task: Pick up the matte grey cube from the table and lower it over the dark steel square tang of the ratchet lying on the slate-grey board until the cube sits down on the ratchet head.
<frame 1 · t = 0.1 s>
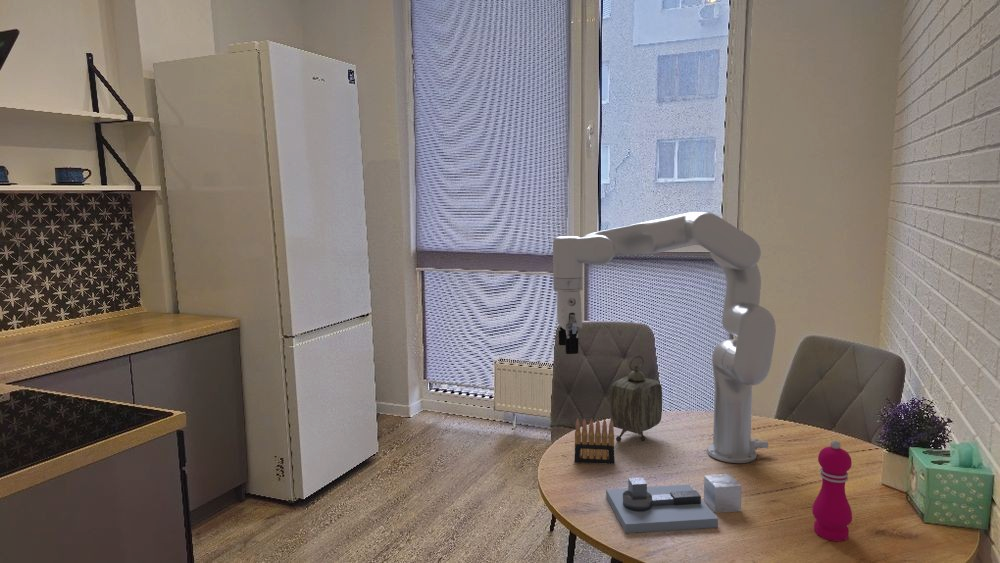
hand: (568, 349, 160), 31 cm above the table, tool pointing down, fingers open, 9 cm apart
pepper mill: (830, 534, 127), on the table
tabletop clock: (636, 439, 180), on the table
ratchet: (637, 504, 137), resting on slate board
slate board: (659, 511, 137), on the table
ammunition clip: (594, 462, 164), on the table
matte grey cube: (721, 505, 140), on the table
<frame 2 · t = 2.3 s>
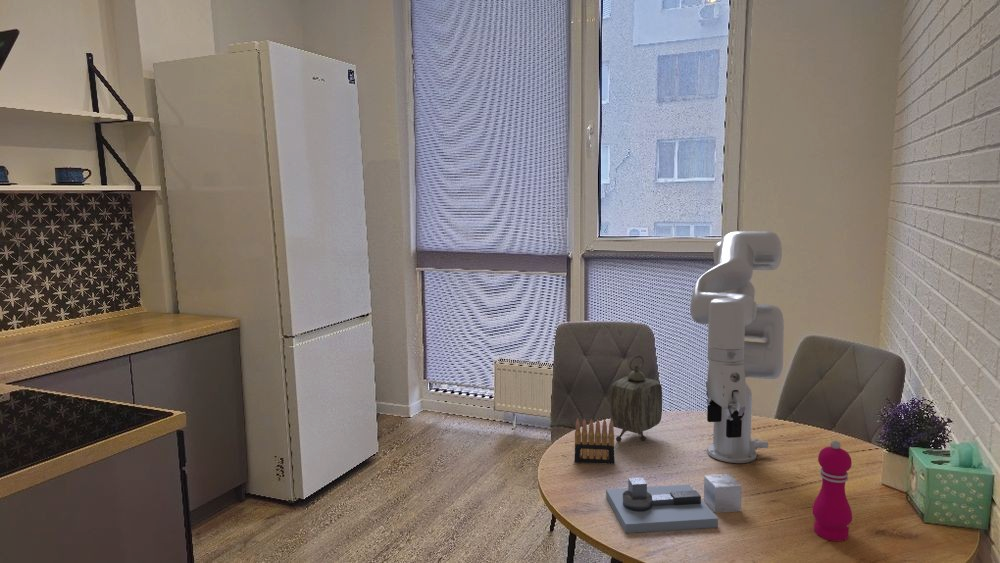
hand: (723, 429, 137), 18 cm above the table, tool pointing down, fingers open, 9 cm apart
nothing on the table moved.
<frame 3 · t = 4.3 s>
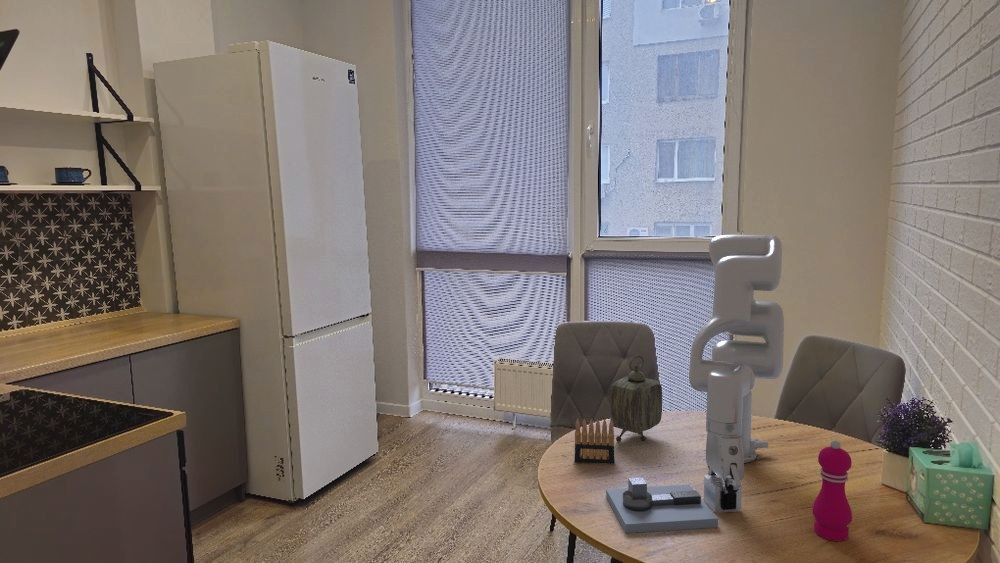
hand: (721, 500, 139), 1 cm above the table, tool pointing down, fingers closed on matte grey cube, 6 cm apart
matte grey cube: (721, 505, 140), on the table, touching gripper
everything else where it was.
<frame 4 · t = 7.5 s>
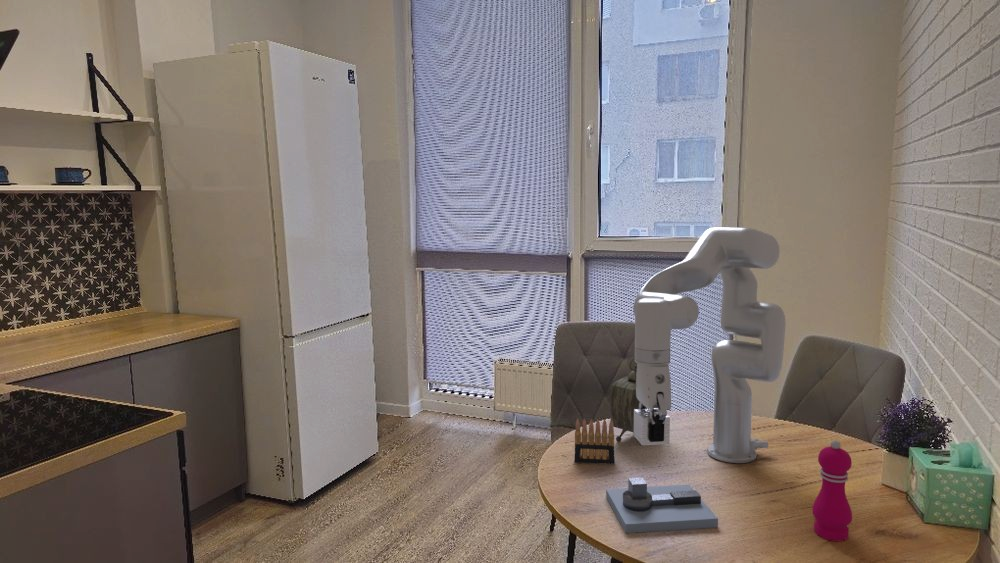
hand: (651, 434, 135), 18 cm above the table, tool pointing down, fingers closed on matte grey cube, 6 cm apart
matte grey cube: (651, 439, 135), point 17 cm above the table, touching gripper
everything else where it was.
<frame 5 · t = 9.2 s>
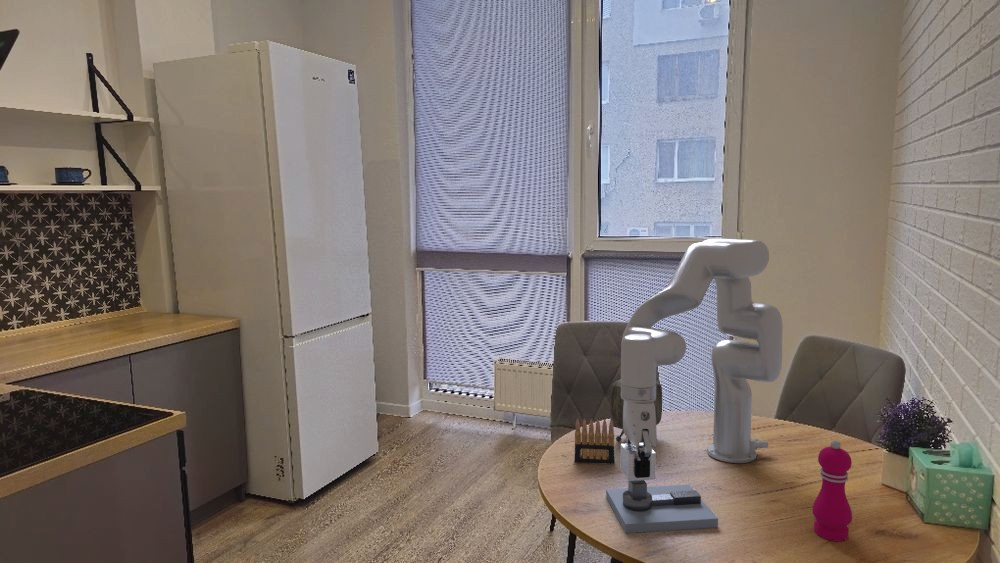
hand: (637, 469, 136), 10 cm above the table, tool pointing down, fingers closed on matte grey cube, 6 cm apart
matte grey cube: (637, 474, 136), point 9 cm above the table, touching gripper
everything else where it was.
when the fingers open (5 cm above the table, at t = 10.6 s): matte grey cube stays where it is, resting on ratchet.
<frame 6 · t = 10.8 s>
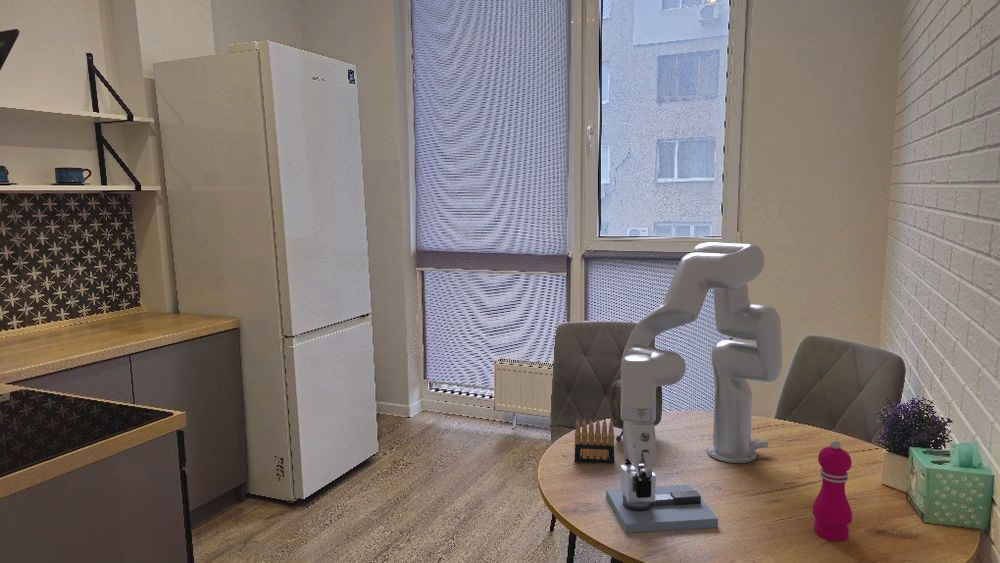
hand: (637, 487, 136), 6 cm above the table, tool pointing down, fingers open, 8 cm apart
matte grey cube: (637, 495, 136), point 4 cm above the table, touching ratchet
everything else where it was.
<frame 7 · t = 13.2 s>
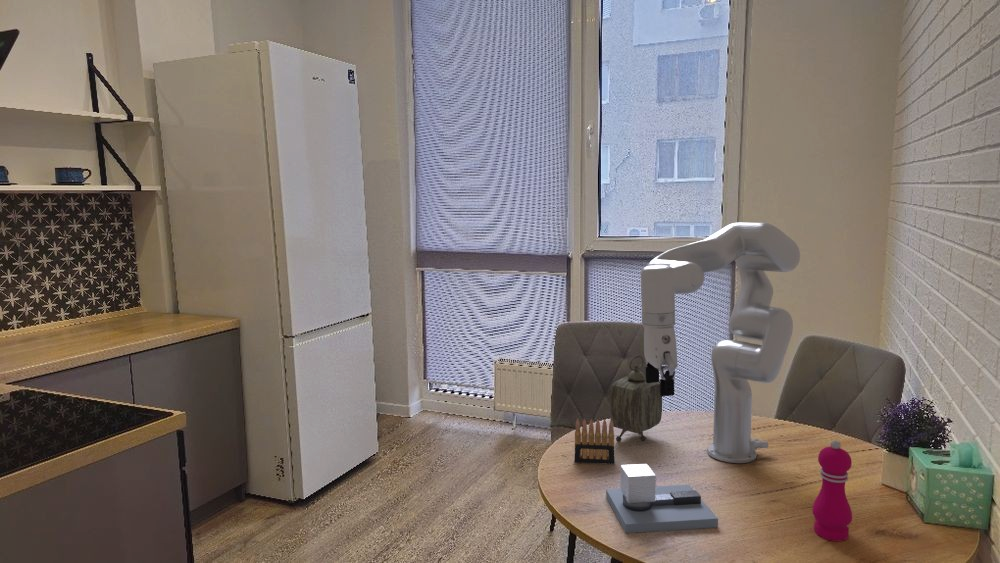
hand: (659, 388, 146), 25 cm above the table, tool pointing down, fingers open, 9 cm apart
nothing on the table moved.
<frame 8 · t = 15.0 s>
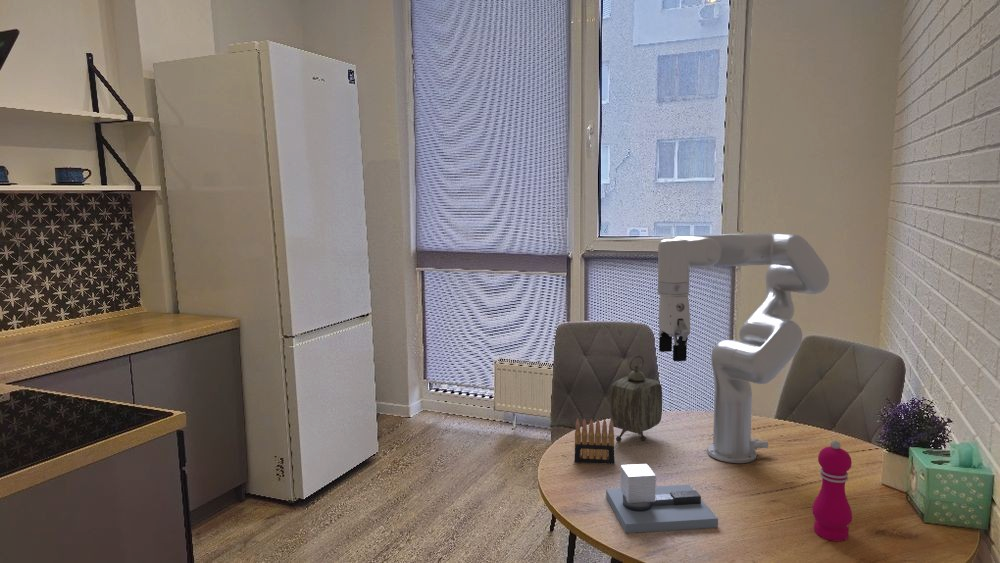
hand: (672, 356, 154), 30 cm above the table, tool pointing down, fingers open, 9 cm apart
nothing on the table moved.
at the end: matte grey cube 0.1 cm off-centre on the ratchet, point 2.0 cm above the ratchet's base; matte grey cube tilted 0°; the gripper is holding nothing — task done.
